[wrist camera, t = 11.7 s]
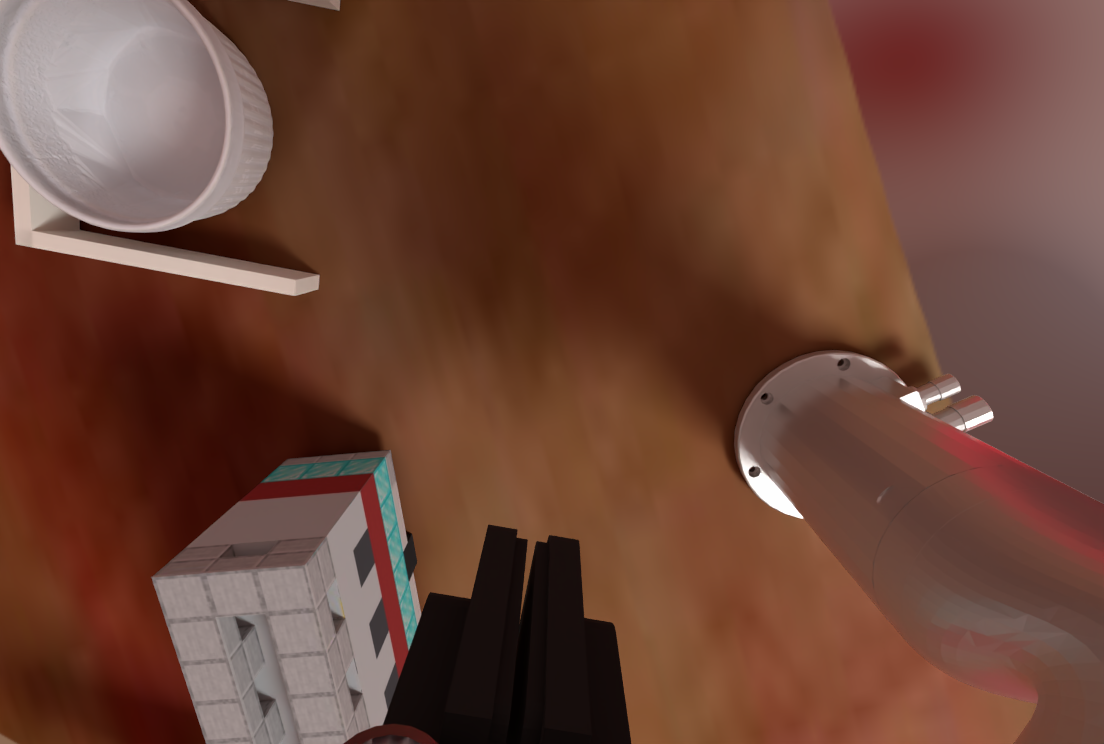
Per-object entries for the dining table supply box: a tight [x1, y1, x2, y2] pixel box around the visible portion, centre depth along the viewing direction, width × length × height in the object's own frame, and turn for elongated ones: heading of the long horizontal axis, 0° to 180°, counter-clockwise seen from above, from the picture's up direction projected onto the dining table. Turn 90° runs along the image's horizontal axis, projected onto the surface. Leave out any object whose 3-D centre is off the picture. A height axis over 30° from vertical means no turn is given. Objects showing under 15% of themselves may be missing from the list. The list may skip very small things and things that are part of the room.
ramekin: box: [0, 0, 273, 233], centre depth 32 cm, size 13×13×7 cm
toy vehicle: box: [152, 450, 421, 744], centre depth 37 cm, size 8×30×15 cm, turn 6°
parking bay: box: [11, 0, 340, 296], centre depth 33 cm, size 17×18×4 cm
